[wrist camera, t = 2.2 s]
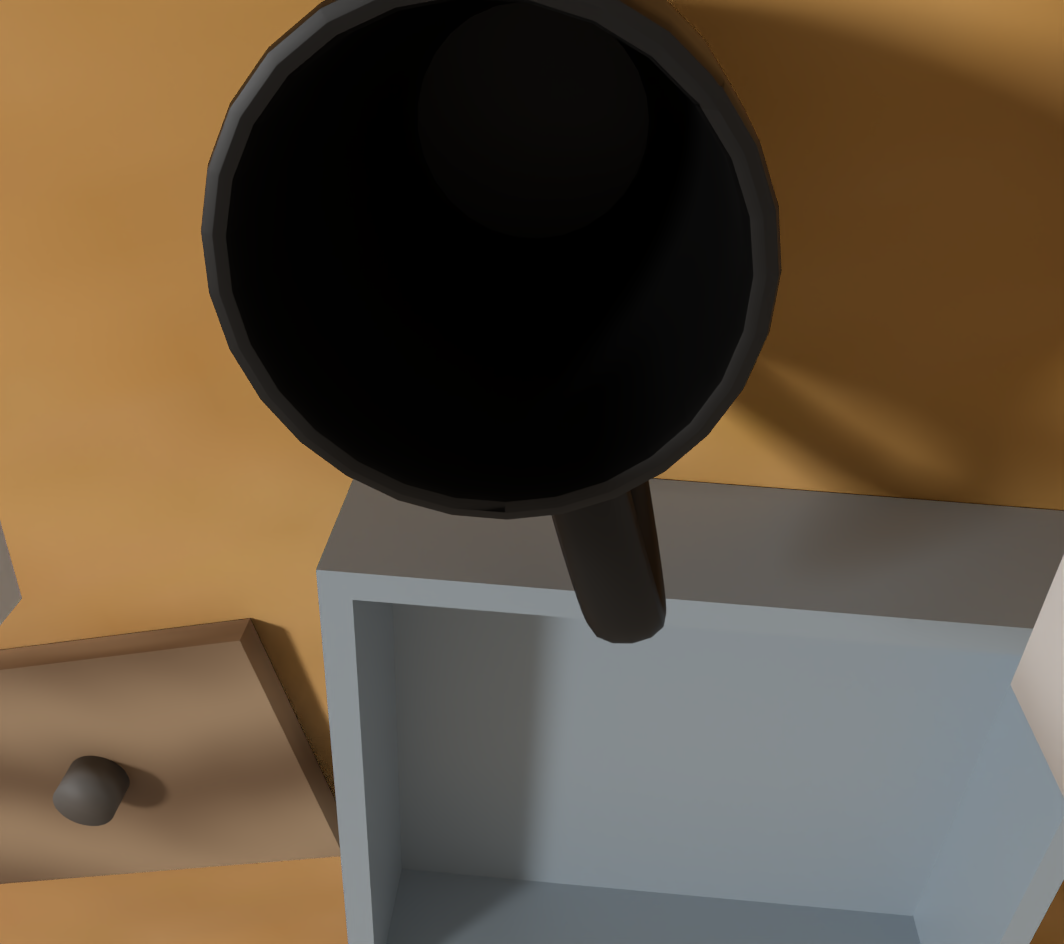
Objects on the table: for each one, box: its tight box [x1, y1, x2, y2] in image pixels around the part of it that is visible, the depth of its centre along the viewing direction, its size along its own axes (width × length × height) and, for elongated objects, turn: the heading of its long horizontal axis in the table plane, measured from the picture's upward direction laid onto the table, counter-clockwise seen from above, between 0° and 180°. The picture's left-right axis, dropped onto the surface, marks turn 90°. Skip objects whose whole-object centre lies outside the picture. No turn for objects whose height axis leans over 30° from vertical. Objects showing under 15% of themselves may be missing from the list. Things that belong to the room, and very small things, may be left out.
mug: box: [201, 0, 781, 644], centre depth 19 cm, size 8×12×10 cm
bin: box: [316, 479, 1064, 944], centre depth 29 cm, size 18×20×5 cm
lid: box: [0, 618, 341, 884], centre depth 33 cm, size 10×14×2 cm
